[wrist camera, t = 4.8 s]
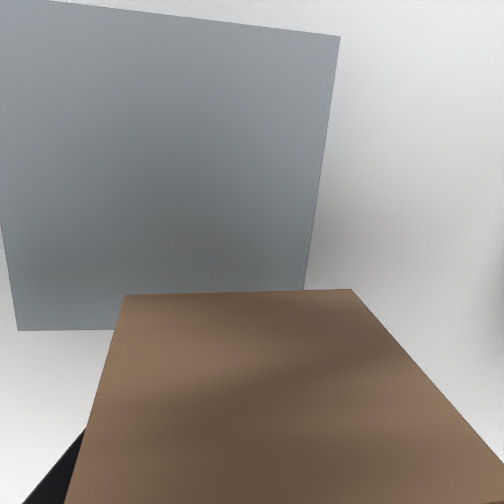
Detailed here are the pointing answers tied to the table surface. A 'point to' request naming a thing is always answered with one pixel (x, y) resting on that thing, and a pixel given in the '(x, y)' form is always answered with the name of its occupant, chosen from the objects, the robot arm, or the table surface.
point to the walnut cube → (272, 409)
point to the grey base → (154, 157)
